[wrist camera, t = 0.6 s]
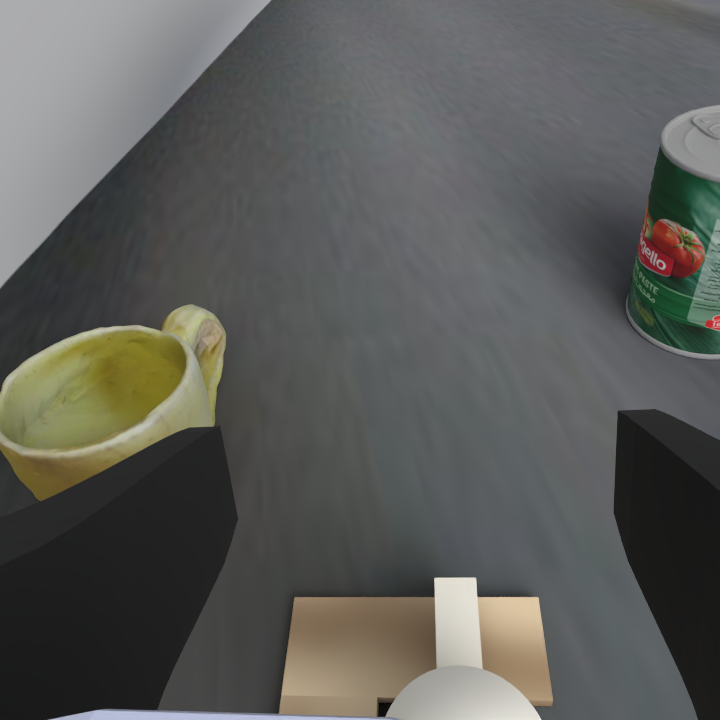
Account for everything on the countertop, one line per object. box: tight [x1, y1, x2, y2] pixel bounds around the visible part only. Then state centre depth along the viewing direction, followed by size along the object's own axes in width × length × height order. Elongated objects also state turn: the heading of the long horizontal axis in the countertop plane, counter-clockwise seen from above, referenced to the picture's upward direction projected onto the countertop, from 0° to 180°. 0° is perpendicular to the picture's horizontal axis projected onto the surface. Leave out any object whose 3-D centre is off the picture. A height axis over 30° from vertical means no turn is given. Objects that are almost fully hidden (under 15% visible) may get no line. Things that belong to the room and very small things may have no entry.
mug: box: [0, 304, 226, 501], centre depth 32 cm, size 12×10×10 cm
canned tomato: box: [626, 105, 720, 360], centre depth 34 cm, size 8×8×11 cm
